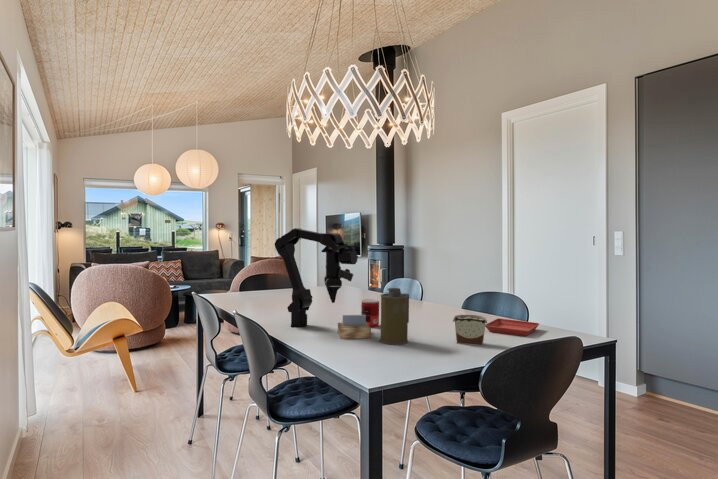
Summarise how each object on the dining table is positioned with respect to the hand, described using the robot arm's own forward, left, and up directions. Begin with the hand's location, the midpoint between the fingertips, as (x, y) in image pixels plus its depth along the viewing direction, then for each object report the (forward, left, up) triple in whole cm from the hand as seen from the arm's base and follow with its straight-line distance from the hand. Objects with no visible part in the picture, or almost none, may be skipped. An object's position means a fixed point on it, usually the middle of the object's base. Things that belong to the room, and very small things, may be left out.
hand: (332, 301), depth 196 cm
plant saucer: (+75, -7, -13) cm, 76 cm away
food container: (+50, -26, -12) cm, 58 cm away
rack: (+8, -10, -12) cm, 18 cm away
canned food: (+17, +8, -12) cm, 22 cm away
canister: (+22, -22, -12) cm, 33 cm away
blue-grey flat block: (+8, -10, -11) cm, 17 cm away
